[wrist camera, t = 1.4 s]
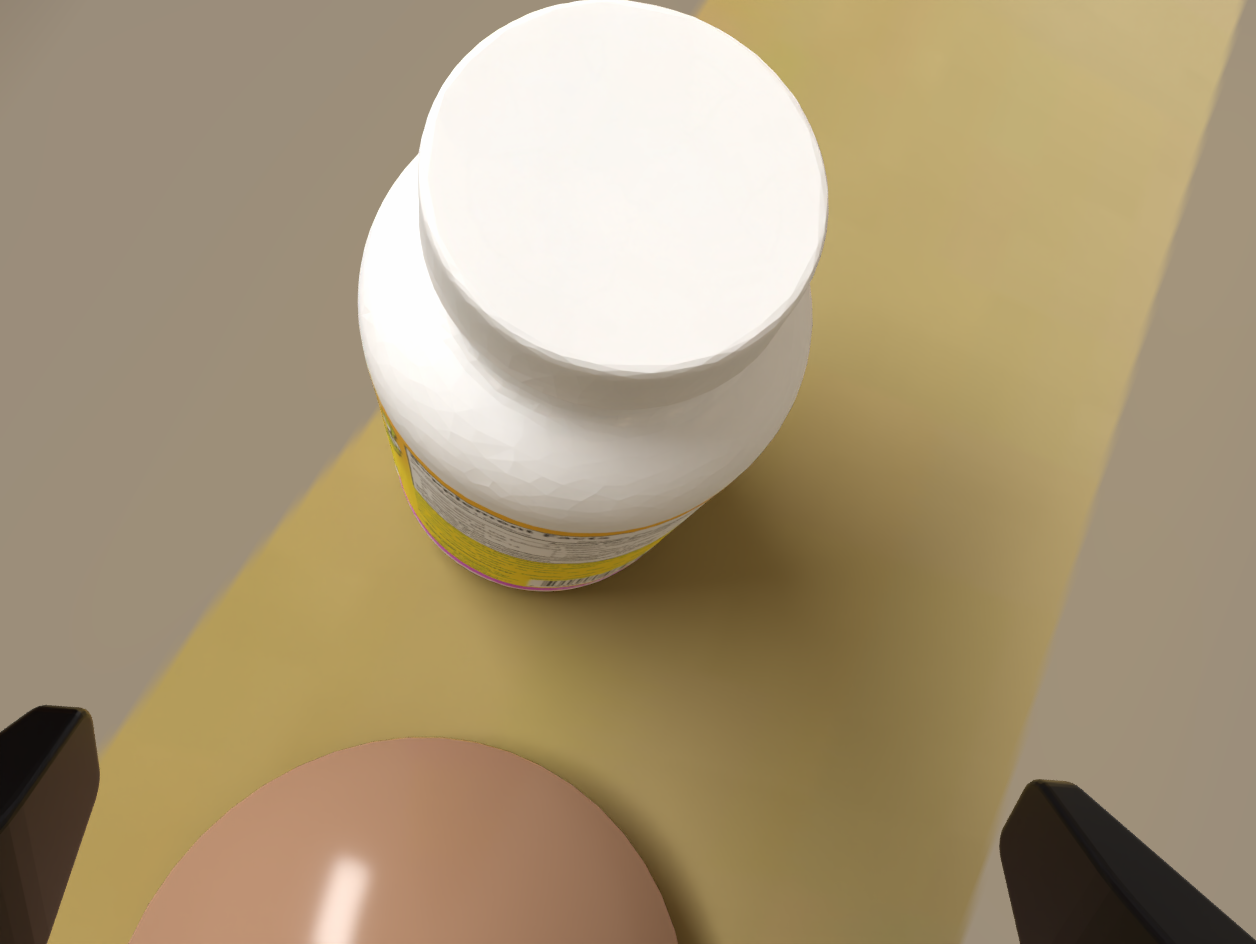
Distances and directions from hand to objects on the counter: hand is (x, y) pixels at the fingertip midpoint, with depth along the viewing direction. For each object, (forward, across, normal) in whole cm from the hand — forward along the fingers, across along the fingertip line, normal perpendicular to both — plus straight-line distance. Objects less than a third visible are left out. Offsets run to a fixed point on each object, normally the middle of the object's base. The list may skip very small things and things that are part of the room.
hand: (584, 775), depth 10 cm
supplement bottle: (+14, 0, +5) cm, 14 cm away
